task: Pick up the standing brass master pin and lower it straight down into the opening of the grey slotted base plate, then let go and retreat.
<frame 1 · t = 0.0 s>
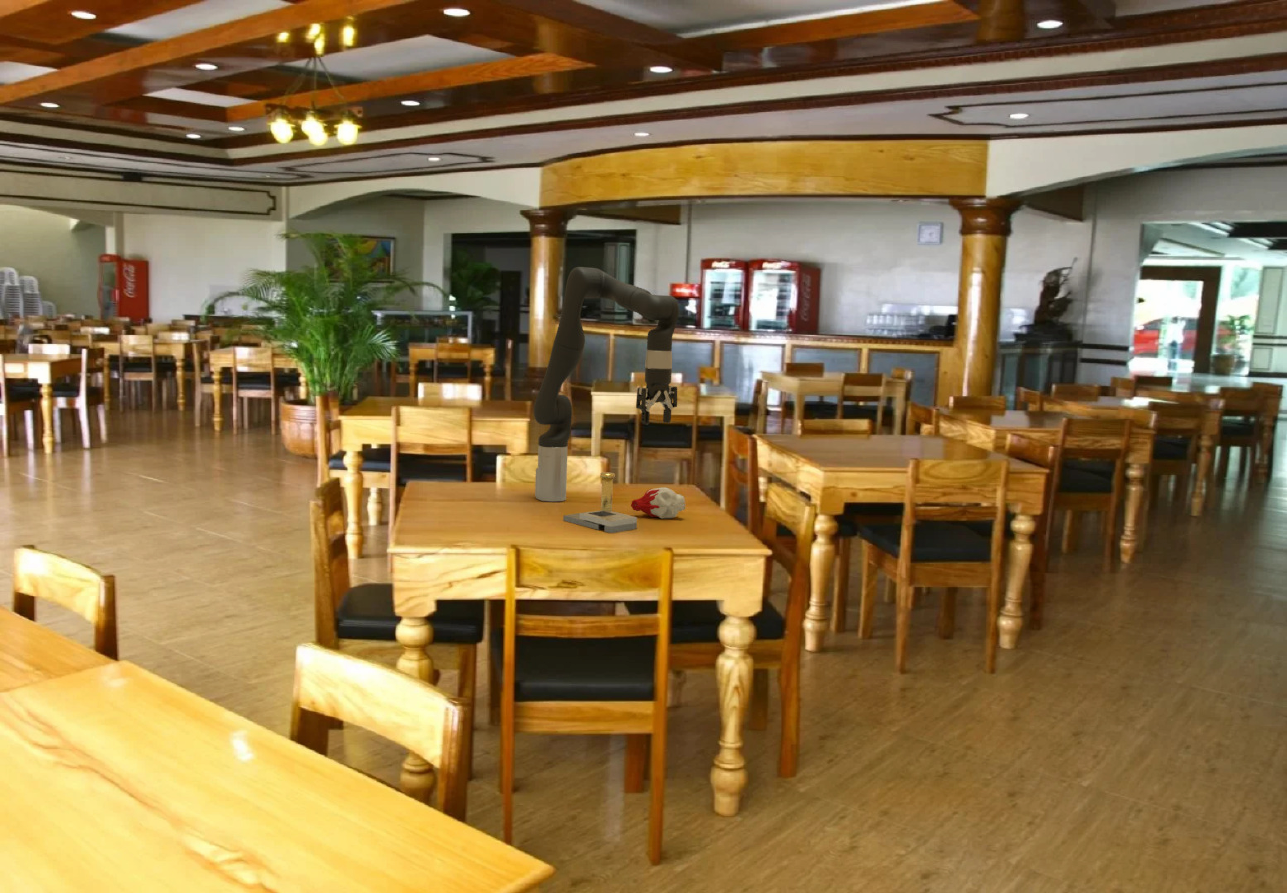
hand: (656, 423, 307), 29 cm above the table, fingers open, 8 cm apart
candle: (656, 517, 322), on the table
master pin: (606, 516, 318), on the table
grey slotted base plate: (601, 525, 306), on the table
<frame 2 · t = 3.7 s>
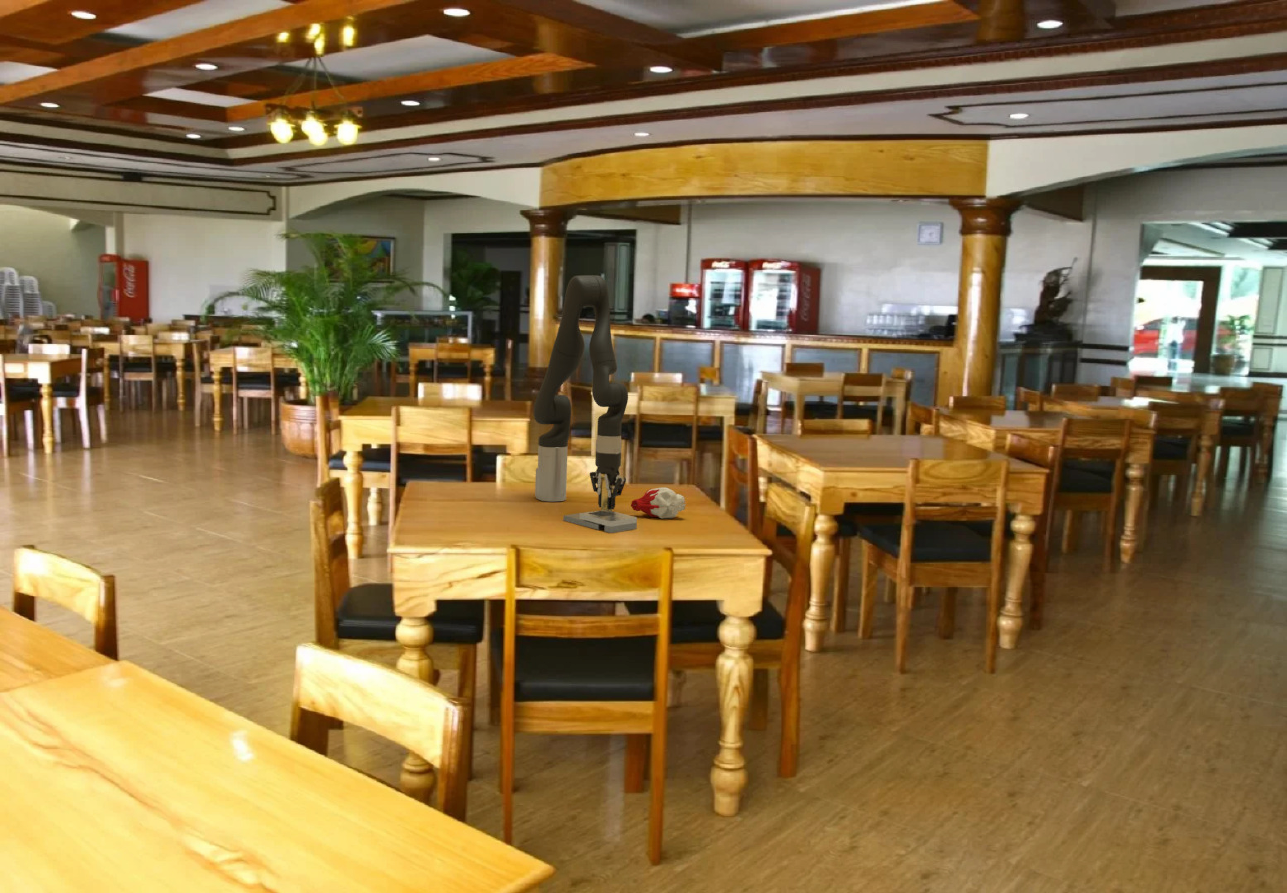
hand: (606, 508, 318), 3 cm above the table, fingers closed on master pin, 3 cm apart
master pin: (606, 516, 318), on the table, touching gripper
everything else where it was.
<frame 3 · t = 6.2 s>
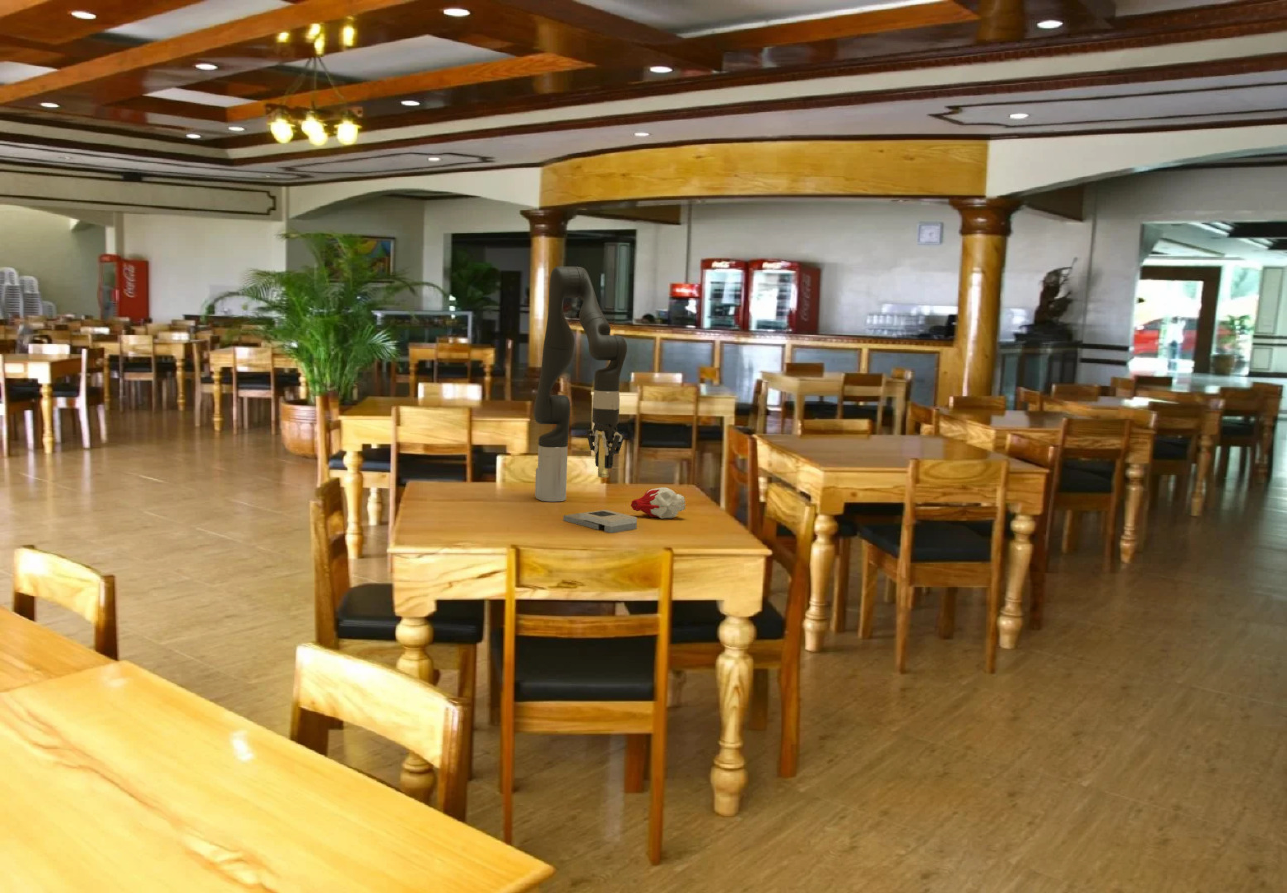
hand: (603, 467, 304), 17 cm above the table, fingers closed on master pin, 3 cm apart
master pin: (603, 476, 304), point 14 cm above the table, touching gripper
everything else where it was.
when the fingers open (4 cm above the table, at t = 9.0 s): master pin stays where it is, resting in grey slotted base plate.
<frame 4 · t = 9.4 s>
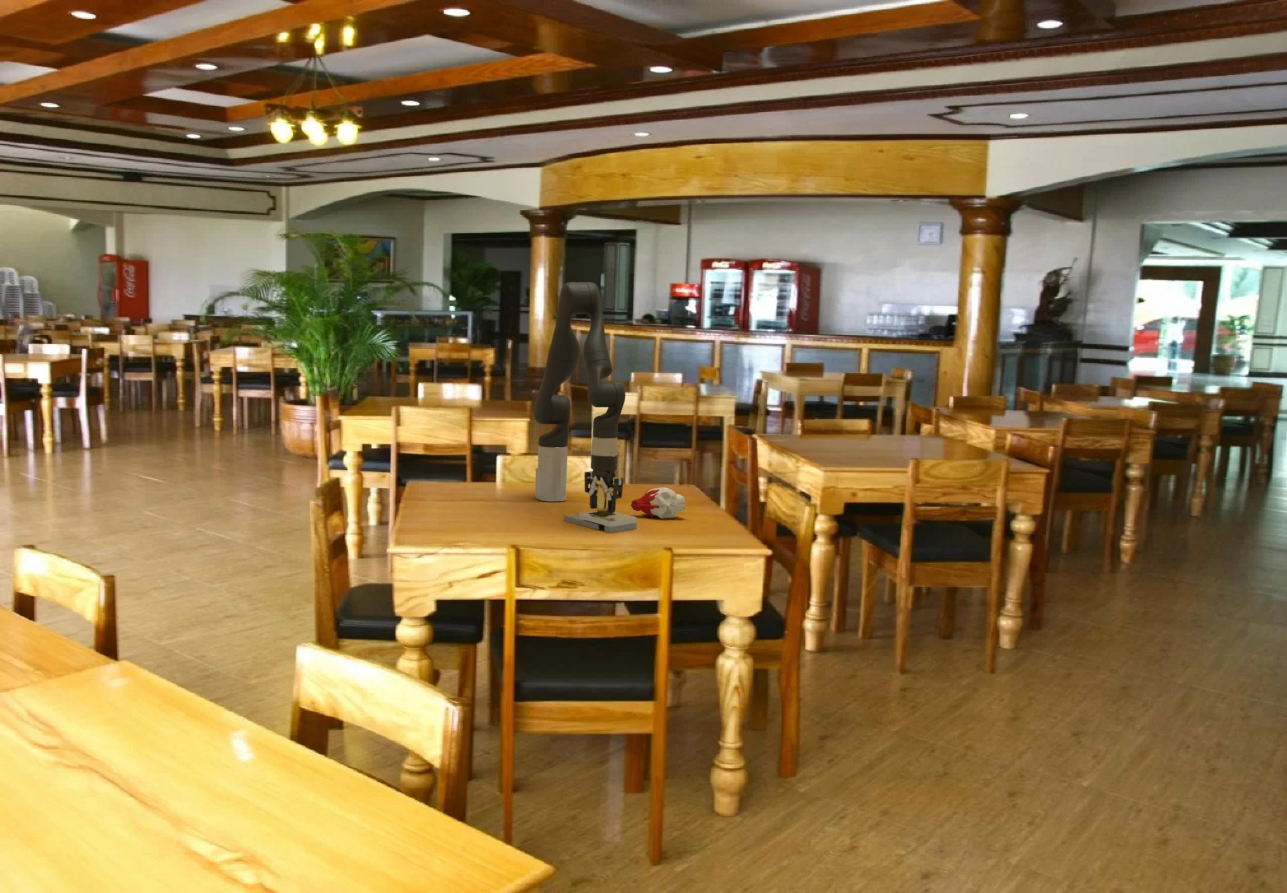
hand: (602, 510, 306), 4 cm above the table, fingers open, 6 cm apart
master pin: (601, 525, 306), resting in grey slotted base plate
everything else where it was.
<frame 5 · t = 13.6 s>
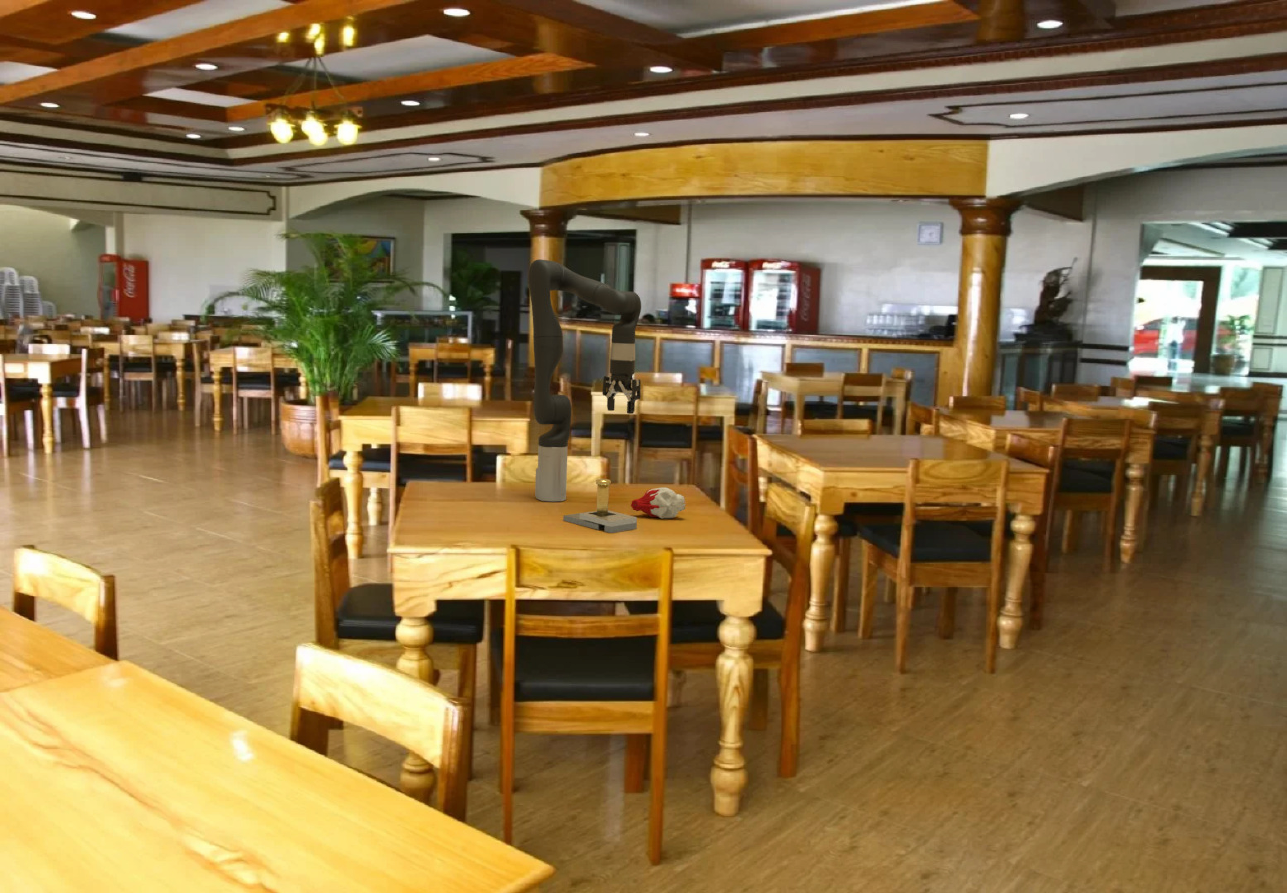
hand: (620, 412, 325), 30 cm above the table, fingers open, 8 cm apart
nothing on the table moved.
at the end: master pin 0.0 cm off-centre on the grey slotted base plate, point 0.0 cm above the grey slotted base plate's base; master pin tilted 0°; the gripper is holding nothing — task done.
